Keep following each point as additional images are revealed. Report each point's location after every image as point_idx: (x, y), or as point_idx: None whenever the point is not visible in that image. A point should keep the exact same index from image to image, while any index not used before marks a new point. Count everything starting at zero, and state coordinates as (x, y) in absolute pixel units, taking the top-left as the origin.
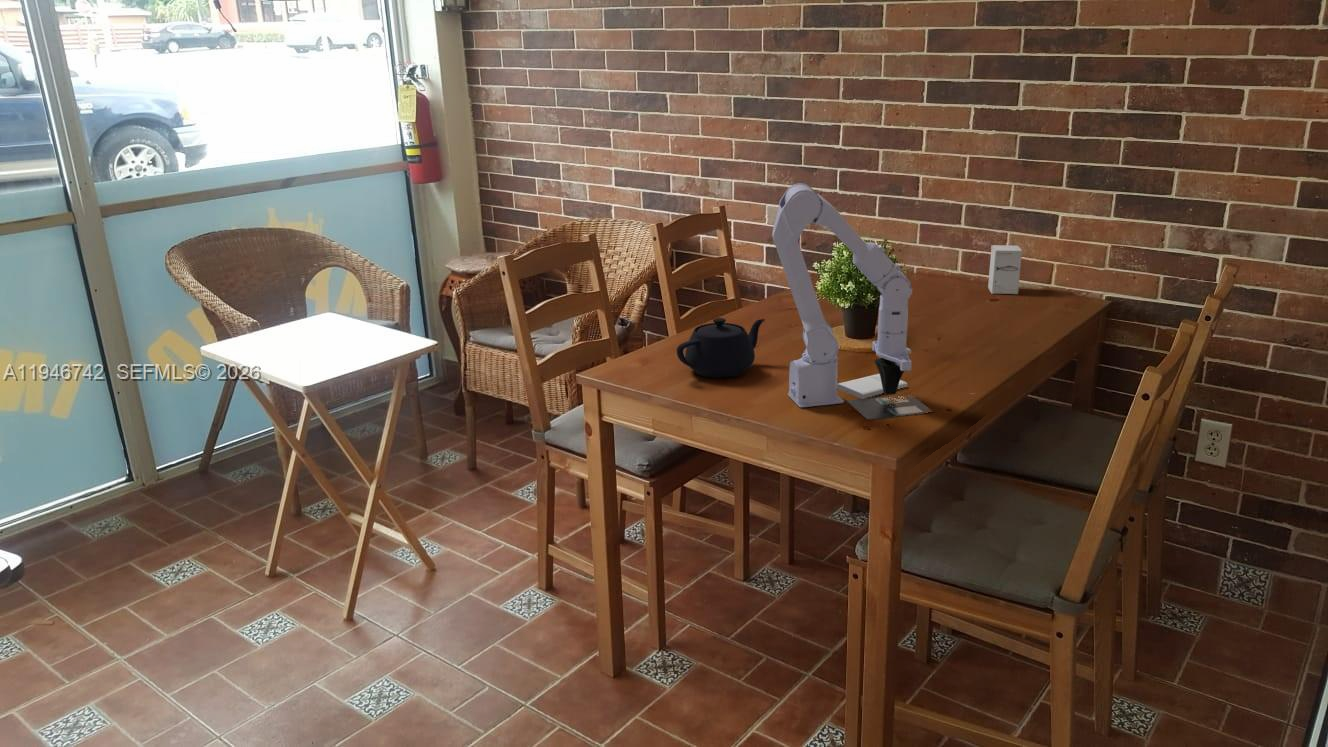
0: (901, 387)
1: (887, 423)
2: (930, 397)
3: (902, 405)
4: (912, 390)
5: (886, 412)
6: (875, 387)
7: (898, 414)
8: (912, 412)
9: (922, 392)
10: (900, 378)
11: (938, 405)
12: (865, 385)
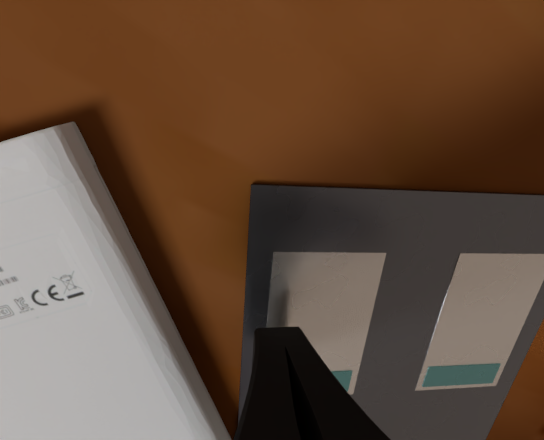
0: (102, 189)
1: (538, 427)
2: (372, 59)
3: (416, 313)
4: (167, 117)
5: (451, 405)
6: (135, 394)
7: (502, 370)
8: (525, 305)
9: (240, 58)
10: (375, 424)
11: (531, 97)
12: (80, 433)
